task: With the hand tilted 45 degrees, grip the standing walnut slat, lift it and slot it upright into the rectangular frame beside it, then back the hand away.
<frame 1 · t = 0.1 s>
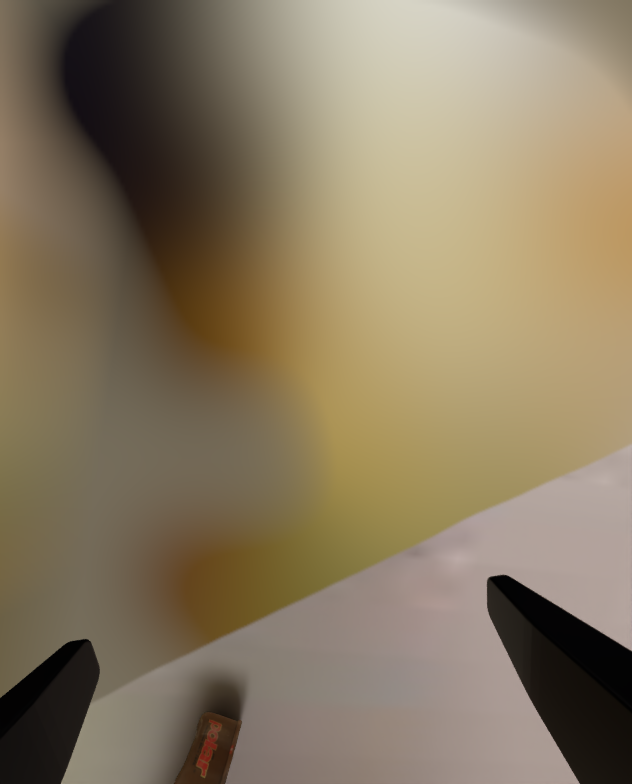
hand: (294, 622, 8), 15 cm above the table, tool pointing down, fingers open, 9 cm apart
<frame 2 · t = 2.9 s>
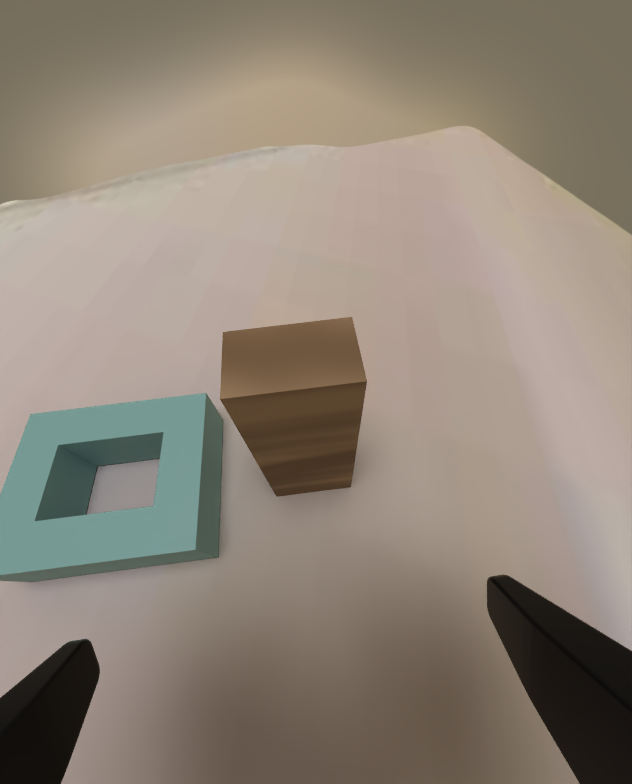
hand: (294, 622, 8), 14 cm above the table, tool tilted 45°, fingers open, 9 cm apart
rectangular frame: (137, 491, 23), on the table
slat: (311, 470, 23), on the table
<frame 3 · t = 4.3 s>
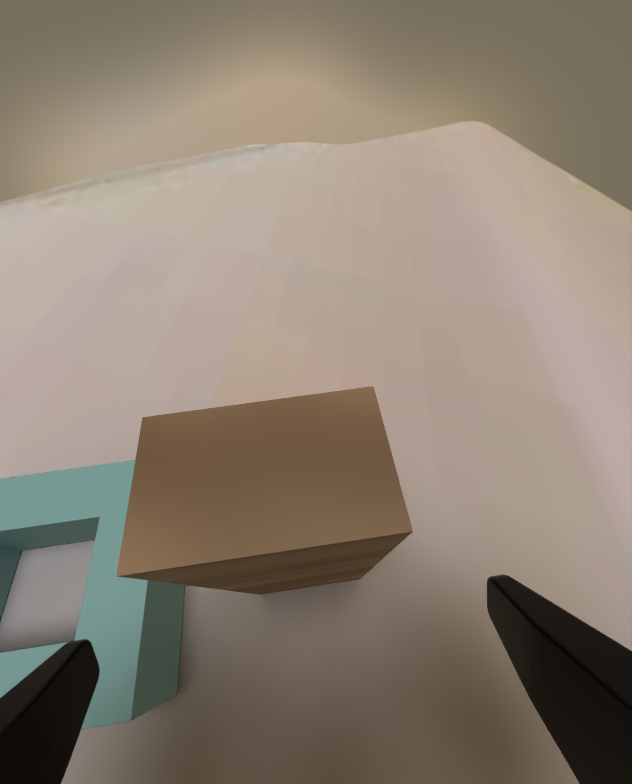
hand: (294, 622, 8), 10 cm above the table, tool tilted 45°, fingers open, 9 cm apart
rectangular frame: (71, 589, 17), on the table
slat: (306, 553, 17), on the table
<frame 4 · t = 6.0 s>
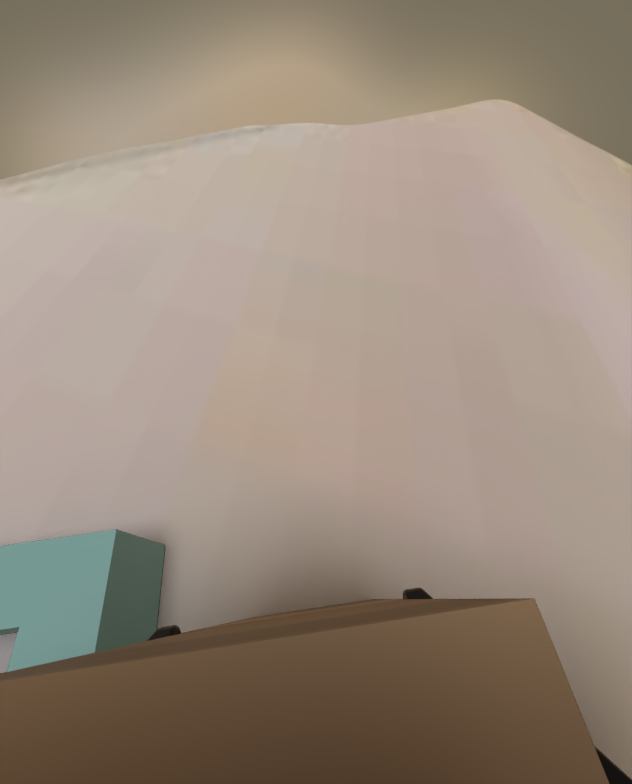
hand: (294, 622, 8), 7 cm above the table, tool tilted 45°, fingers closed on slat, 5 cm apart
slat: (316, 654, 13), on the table, touching gripper
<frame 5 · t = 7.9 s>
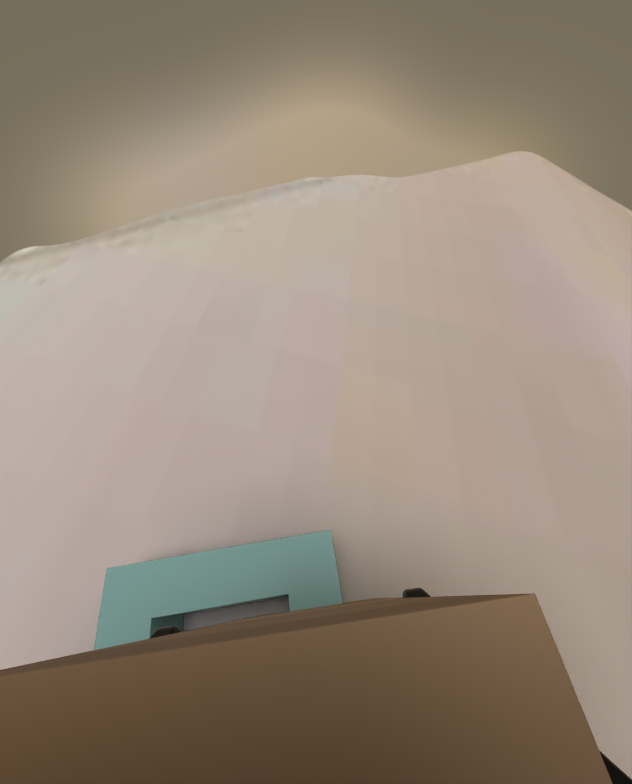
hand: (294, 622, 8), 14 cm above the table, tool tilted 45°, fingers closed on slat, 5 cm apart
rectangular frame: (241, 653, 18), on the table
slat: (316, 654, 13), point 6 cm above the table, touching gripper
when the fingers open (8 cm above the table, at t = 10.0 s): slat stays where it is, resting in rectangular frame.
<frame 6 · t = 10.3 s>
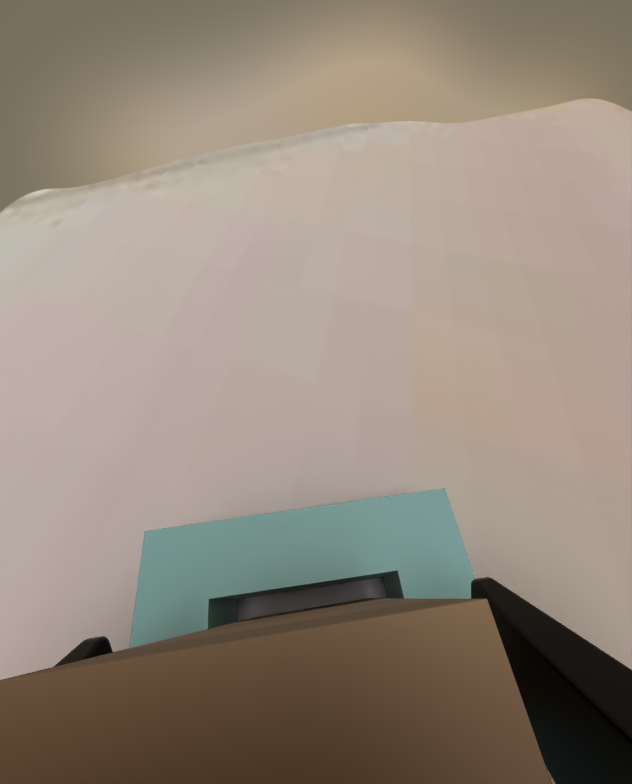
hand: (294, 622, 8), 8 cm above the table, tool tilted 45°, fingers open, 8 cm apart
rectangular frame: (317, 651, 14), on the table
slat: (317, 651, 14), resting in rectangular frame
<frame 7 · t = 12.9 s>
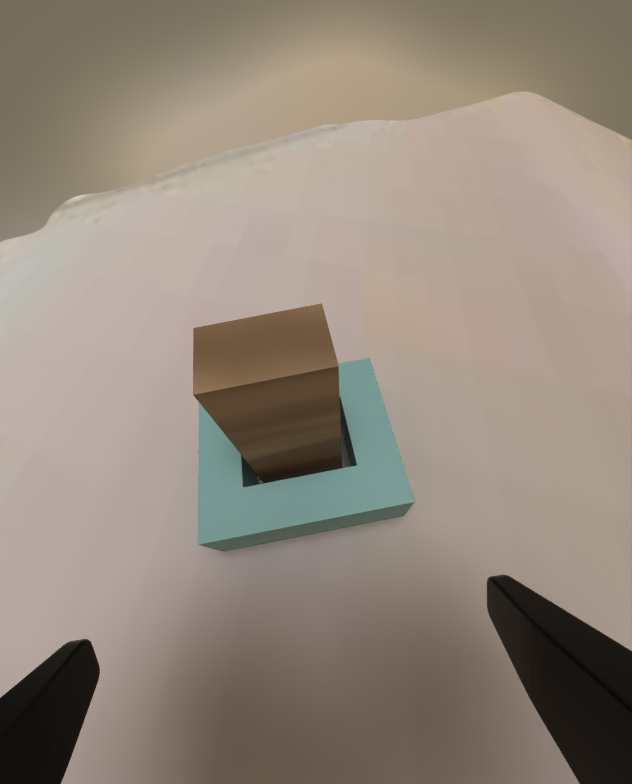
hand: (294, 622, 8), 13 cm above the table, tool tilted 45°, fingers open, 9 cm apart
rectangular frame: (302, 461, 23), on the table
slat: (302, 461, 23), resting in rectangular frame
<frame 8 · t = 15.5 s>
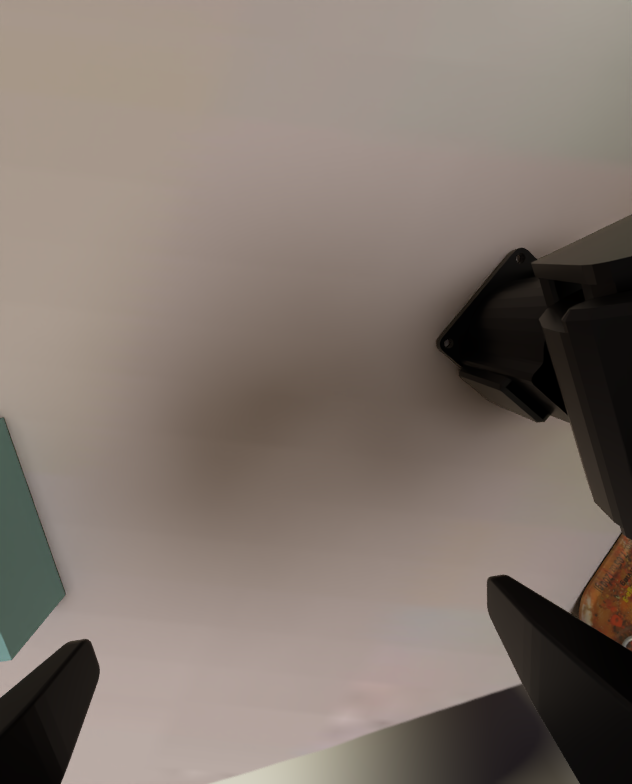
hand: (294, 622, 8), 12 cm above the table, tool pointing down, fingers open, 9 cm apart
tin: (628, 548, 23), on the table
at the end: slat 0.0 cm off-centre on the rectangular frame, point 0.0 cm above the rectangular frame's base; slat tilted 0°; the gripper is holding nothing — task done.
